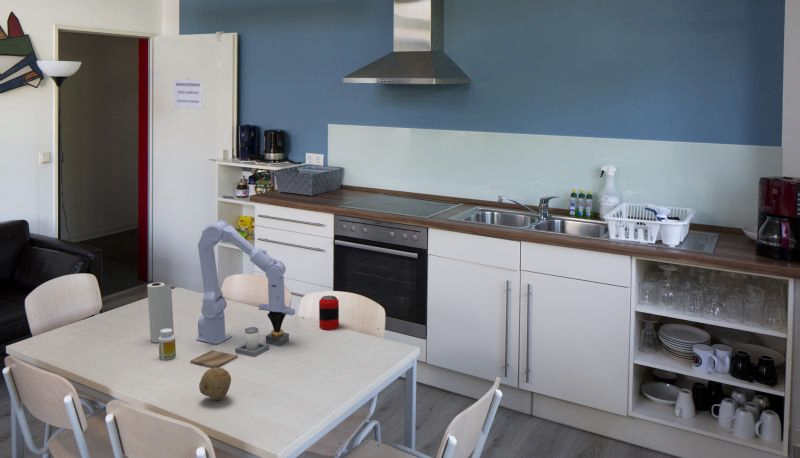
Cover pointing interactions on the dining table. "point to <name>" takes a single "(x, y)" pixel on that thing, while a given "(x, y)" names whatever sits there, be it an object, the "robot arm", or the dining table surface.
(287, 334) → the plunger base
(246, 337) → the cylinder
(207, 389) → the potato
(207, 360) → the pad
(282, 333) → the plunger
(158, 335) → the paper towel roll
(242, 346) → the collar
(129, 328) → the dining table surface
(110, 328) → the dining table surface
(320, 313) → the soda can
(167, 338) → the supplement bottle
